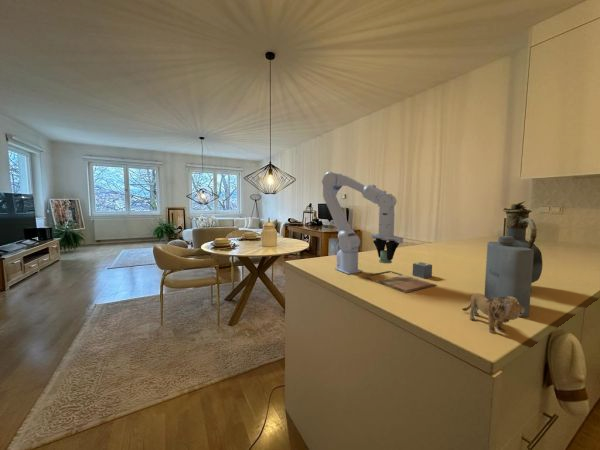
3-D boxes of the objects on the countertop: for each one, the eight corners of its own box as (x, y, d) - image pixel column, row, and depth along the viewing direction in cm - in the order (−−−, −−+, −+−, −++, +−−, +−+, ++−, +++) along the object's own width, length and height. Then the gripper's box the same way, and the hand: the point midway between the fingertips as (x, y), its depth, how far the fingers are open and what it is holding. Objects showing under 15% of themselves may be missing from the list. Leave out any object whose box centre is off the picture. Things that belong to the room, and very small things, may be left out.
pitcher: (520, 282, 91) (526, 201, 89) (552, 301, 73) (560, 200, 71) (485, 279, 95) (490, 201, 93) (507, 296, 77) (514, 200, 75)
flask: (478, 295, 78) (481, 233, 77) (498, 296, 77) (503, 233, 76) (507, 316, 64) (513, 240, 62) (533, 318, 63) (539, 240, 61)
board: (361, 276, 99) (361, 275, 99) (390, 271, 107) (390, 270, 107) (405, 293, 81) (405, 291, 81) (436, 285, 88) (436, 283, 88)
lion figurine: (527, 340, 53) (530, 299, 52) (506, 342, 52) (509, 301, 51) (470, 310, 67) (472, 278, 67) (453, 312, 66) (454, 279, 66)
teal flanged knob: (376, 261, 99) (376, 250, 99) (385, 260, 102) (385, 249, 101) (385, 264, 95) (386, 252, 95) (394, 262, 97) (394, 251, 97)
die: (412, 275, 101) (412, 263, 100) (420, 273, 103) (421, 262, 103) (423, 278, 96) (424, 266, 96) (431, 277, 99) (432, 264, 98)
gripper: (365, 223, 102) (365, 256, 103) (394, 226, 89) (392, 263, 90) (378, 223, 105) (377, 254, 106) (407, 225, 92) (406, 261, 93)
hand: (385, 258), depth 98 cm, fingers closed on teal flanged knob, 4 cm apart
